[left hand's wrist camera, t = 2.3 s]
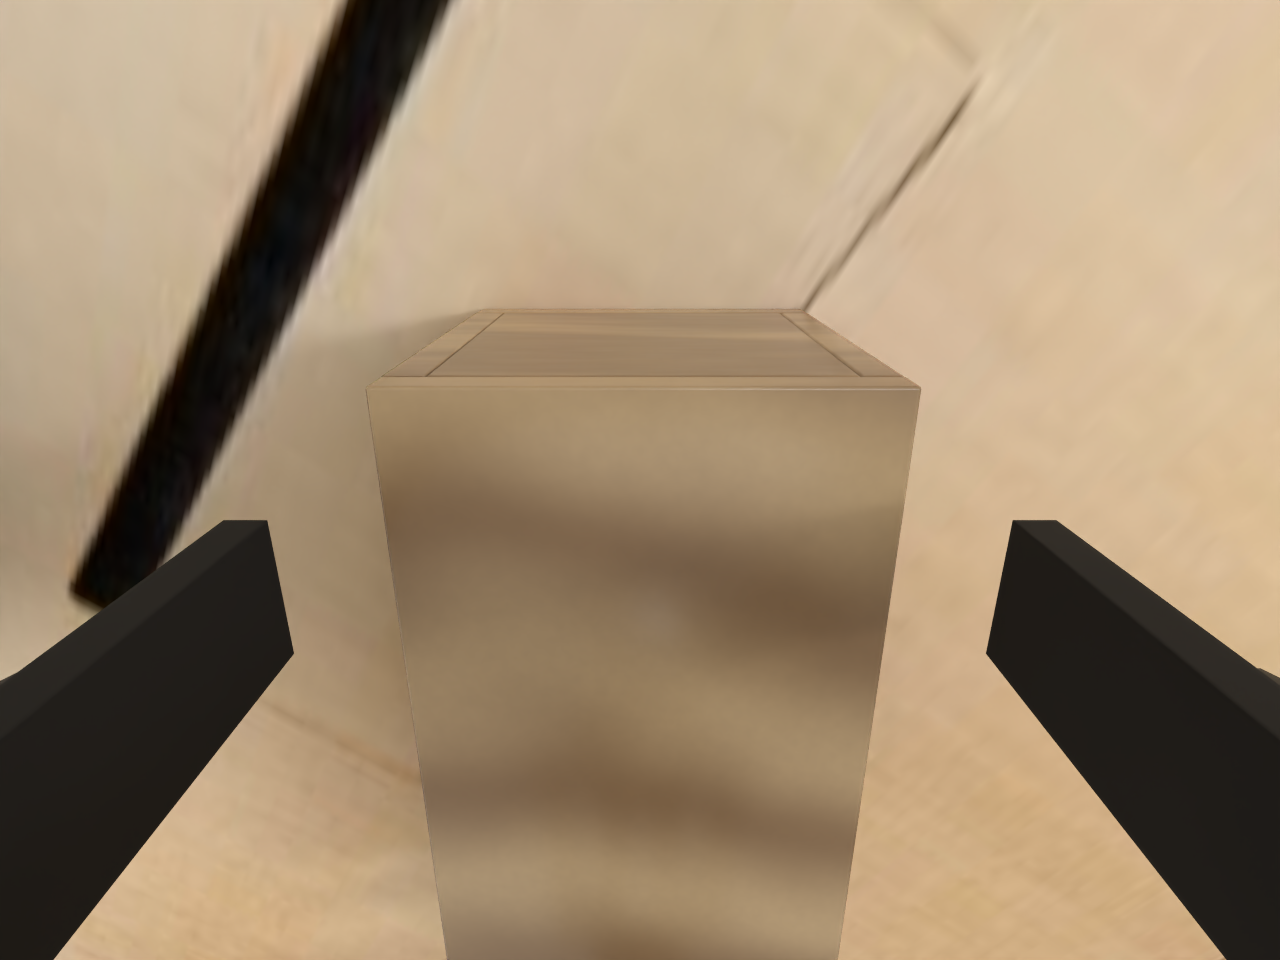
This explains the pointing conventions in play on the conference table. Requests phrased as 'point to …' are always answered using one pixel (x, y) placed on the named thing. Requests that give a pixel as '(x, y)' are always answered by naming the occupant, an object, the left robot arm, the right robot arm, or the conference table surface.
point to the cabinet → (642, 622)
